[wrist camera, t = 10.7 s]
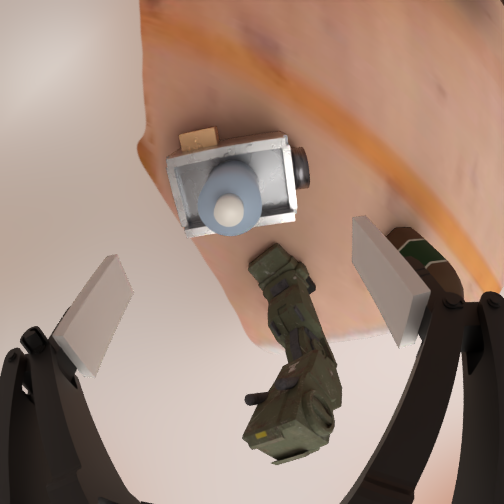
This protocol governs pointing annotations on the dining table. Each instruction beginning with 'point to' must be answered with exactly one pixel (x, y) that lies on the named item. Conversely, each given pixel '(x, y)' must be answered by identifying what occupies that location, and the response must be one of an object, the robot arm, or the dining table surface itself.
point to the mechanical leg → (293, 366)
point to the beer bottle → (426, 258)
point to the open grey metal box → (249, 152)
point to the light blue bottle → (230, 199)
